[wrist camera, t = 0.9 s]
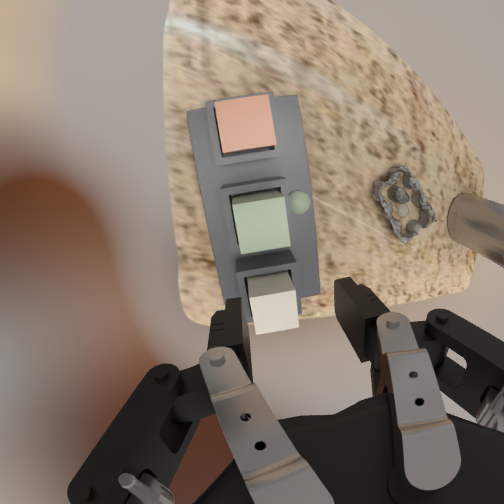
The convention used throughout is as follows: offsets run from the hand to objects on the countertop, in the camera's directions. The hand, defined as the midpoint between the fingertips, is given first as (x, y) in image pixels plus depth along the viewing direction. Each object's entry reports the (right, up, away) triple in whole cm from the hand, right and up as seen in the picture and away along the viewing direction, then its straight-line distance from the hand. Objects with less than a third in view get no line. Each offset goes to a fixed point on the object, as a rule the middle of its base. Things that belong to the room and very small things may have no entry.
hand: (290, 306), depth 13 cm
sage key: (-1, +7, +20) cm, 21 cm away
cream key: (0, -2, +23) cm, 23 cm away
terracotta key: (-3, +16, +16) cm, 23 cm away
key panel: (-1, +9, +24) cm, 25 cm away
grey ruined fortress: (+20, +10, +25) cm, 34 cm away
